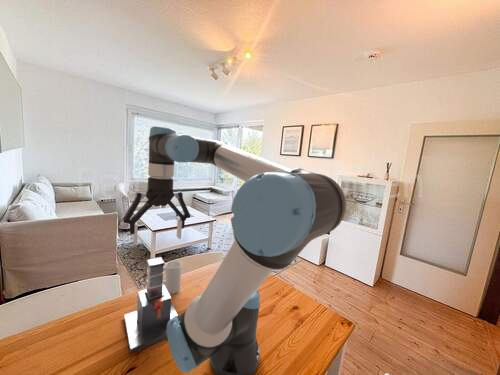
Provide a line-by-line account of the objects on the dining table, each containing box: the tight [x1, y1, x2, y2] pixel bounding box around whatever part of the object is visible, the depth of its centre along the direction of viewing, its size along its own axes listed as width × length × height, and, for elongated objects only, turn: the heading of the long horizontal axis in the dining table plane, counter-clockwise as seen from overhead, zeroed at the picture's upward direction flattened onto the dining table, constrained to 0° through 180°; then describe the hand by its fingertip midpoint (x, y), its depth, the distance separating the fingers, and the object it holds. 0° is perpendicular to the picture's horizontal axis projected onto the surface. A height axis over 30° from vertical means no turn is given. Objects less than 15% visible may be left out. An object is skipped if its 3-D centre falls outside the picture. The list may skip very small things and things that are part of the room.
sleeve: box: [123, 284, 179, 354], centre depth 72 cm, size 16×16×12 cm
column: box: [146, 256, 166, 301], centre depth 71 cm, size 5×5×22 cm
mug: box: [163, 260, 183, 295], centre depth 92 cm, size 10×7×12 cm, turn 99°
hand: (158, 240), depth 70 cm, fingers open, 13 cm apart
